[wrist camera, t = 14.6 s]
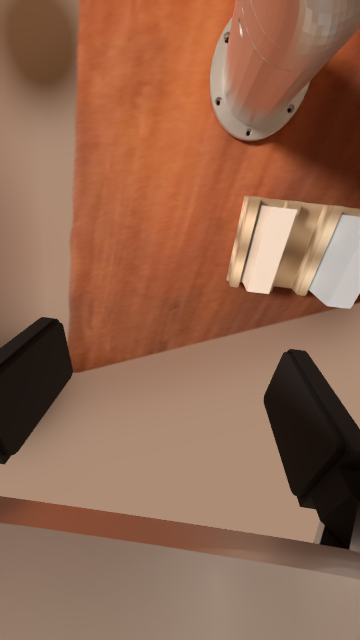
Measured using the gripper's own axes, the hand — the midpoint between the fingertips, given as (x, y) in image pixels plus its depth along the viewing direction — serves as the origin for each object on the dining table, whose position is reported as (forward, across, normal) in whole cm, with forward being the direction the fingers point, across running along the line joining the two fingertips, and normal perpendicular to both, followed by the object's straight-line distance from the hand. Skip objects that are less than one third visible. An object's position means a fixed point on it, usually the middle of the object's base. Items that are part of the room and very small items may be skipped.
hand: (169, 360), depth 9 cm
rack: (+33, -18, 0) cm, 38 cm away
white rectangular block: (+32, -23, 0) cm, 40 cm away
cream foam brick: (+32, -12, 0) cm, 34 cm away
